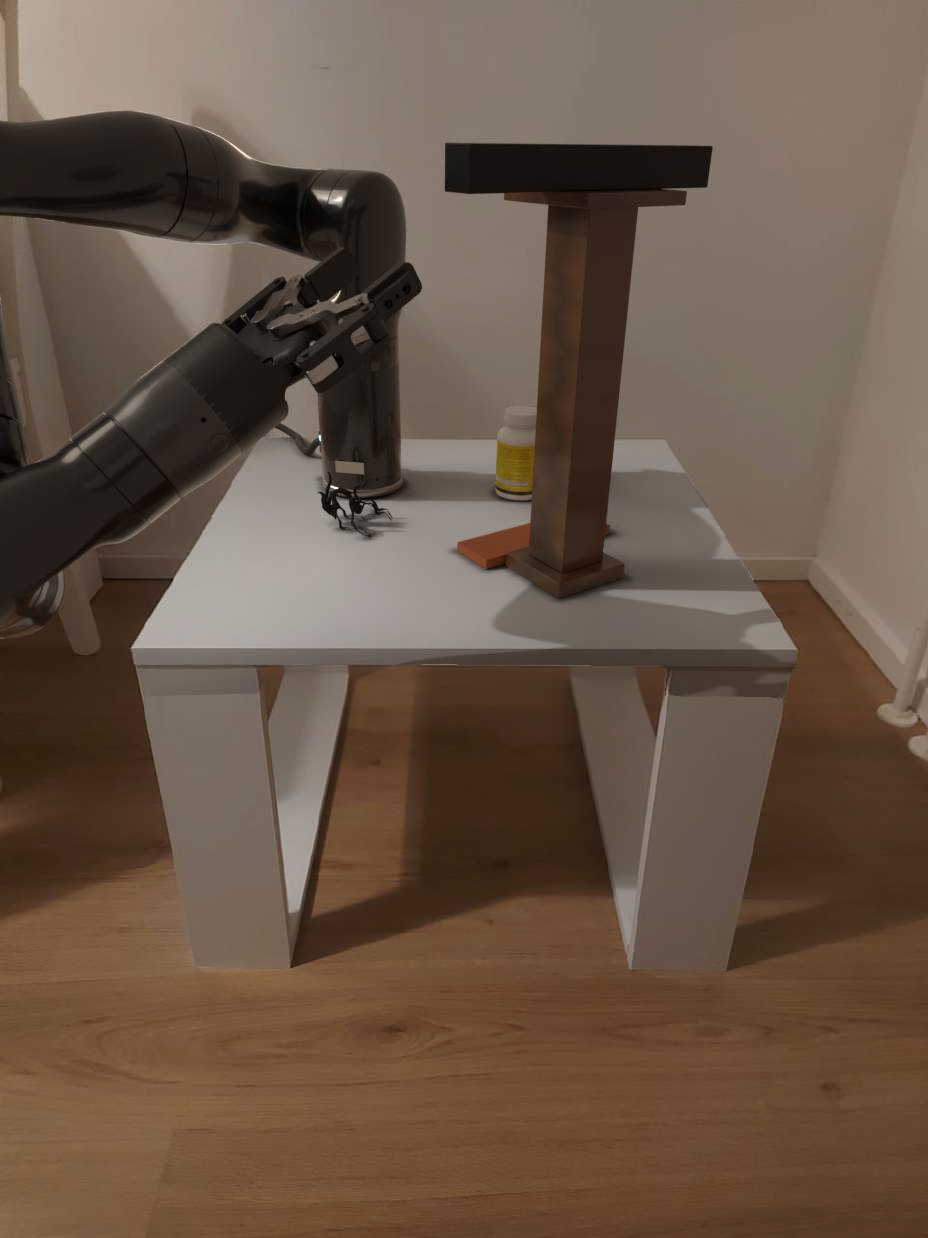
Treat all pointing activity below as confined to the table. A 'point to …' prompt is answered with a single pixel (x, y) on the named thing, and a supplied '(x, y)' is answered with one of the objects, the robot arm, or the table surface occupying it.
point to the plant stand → (580, 382)
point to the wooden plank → (497, 545)
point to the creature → (353, 504)
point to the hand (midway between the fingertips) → (381, 265)
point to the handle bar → (573, 167)
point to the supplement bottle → (516, 454)
